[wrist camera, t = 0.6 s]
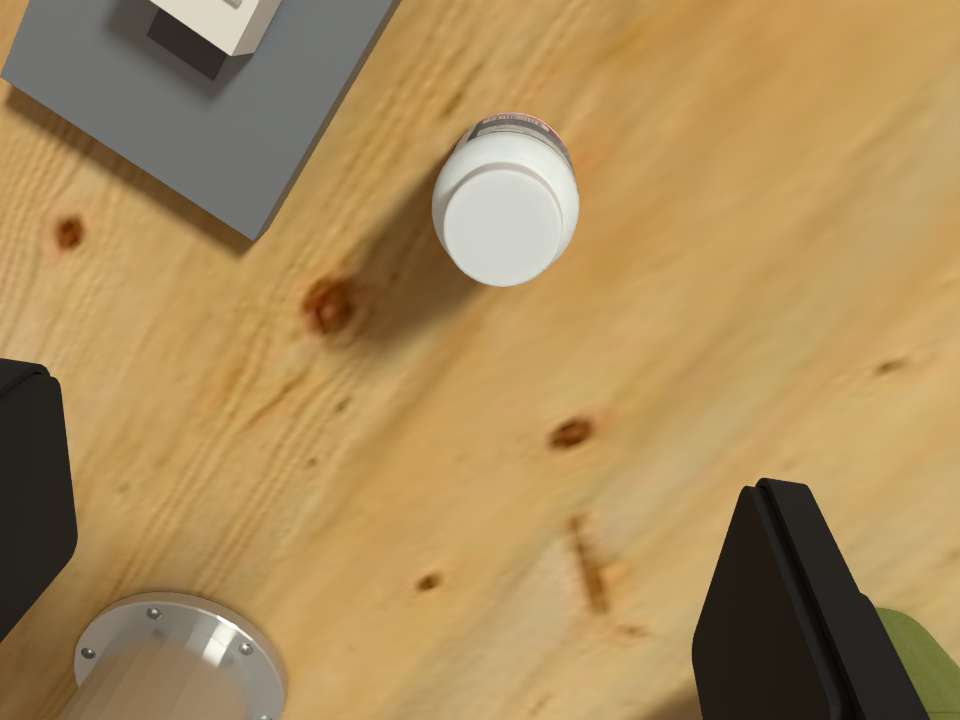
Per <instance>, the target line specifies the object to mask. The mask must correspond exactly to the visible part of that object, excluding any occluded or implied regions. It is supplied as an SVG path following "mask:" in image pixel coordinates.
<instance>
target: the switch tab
mask: <svg viewBox="0 0 960 720" xmlns="http://www.w3.org/2000/svg"><path fill="white" fill-rule="evenodd" d="M150 1H152V2H153V3H155V4H156V5H158V6H159V7H160V8H162V9H163V10H165V11H166V12H168V13H169V14H171V15H172V16H173V17H175V18H176V19H178V20H179V21H181V22H182V23H184V24H185V25H187V26H188V27H189V28H191V29H192V30H194V31H195V32H197V33H198V34H200V35H201V36H202V37H204V38H205V39H207V40H208V41H210V42H211V43H213V44H214V45H215V46H217V47H218V48H220V49H221V50H223V51H224V52H226V53H227V54H228V55H230V56H236V55H242V54H249V53H254V52H255V50H256V49H257V47H258V45H259V43H260V41H261V39H262V37H263V35H264V33H265V31H266V29H267V27H268V26H269V24H270V22H271V20H272V18H273V16H274V14H275V12H276V10H277V8H278V6H279V5H280V3H281V1H282V0H150Z"/></svg>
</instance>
